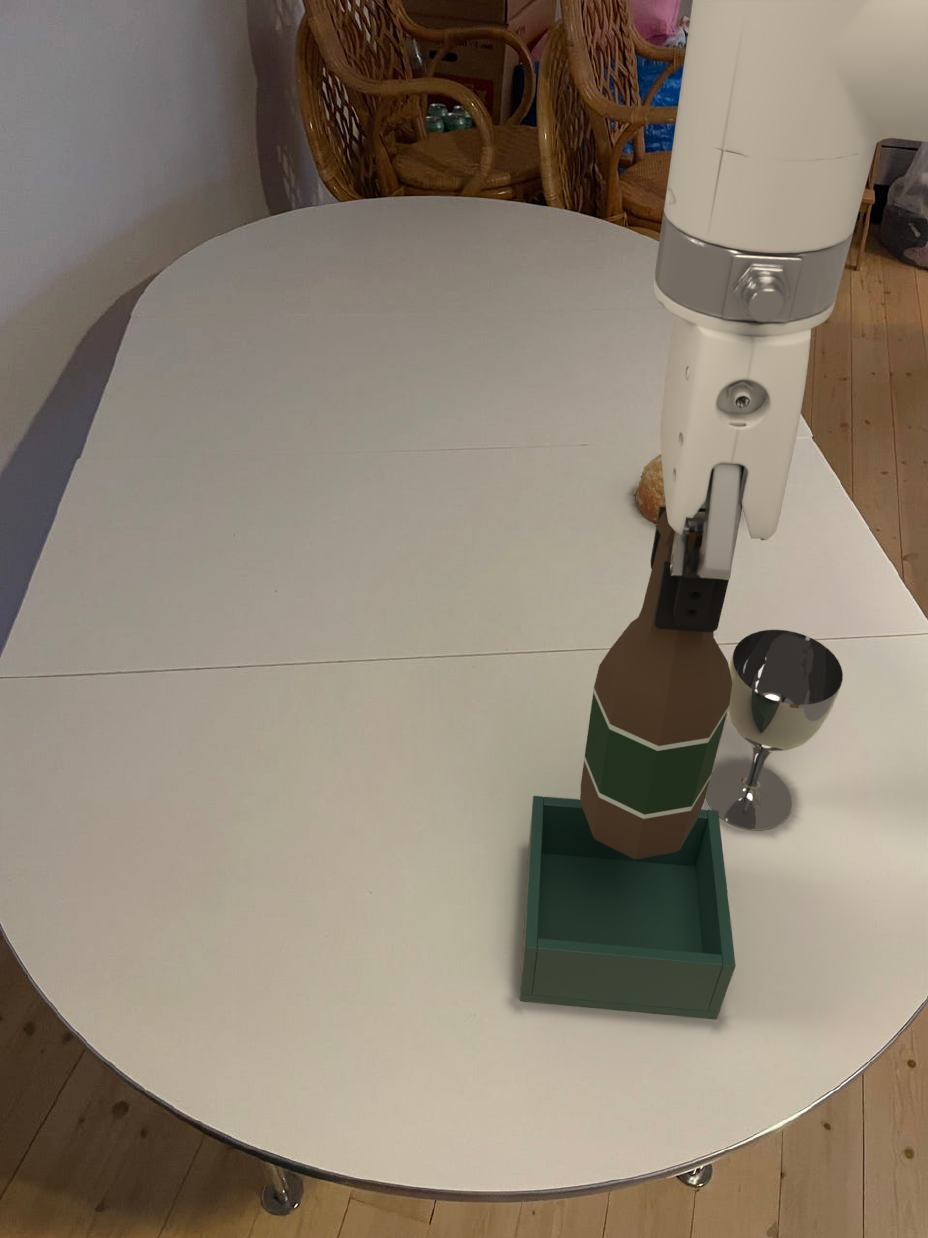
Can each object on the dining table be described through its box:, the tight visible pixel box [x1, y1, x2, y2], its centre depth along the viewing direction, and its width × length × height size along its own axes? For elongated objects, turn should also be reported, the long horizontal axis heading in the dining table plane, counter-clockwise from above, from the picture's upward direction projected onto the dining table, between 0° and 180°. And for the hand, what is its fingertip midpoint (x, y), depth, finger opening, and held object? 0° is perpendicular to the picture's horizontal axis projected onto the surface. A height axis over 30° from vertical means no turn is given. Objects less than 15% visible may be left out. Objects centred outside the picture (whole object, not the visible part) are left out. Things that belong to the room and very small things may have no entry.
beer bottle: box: [579, 508, 733, 859], centre depth 60 cm, size 8×8×24 cm
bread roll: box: [633, 453, 666, 524], centre depth 116 cm, size 10×10×8 cm
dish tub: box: [519, 795, 736, 1020], centre depth 75 cm, size 14×13×7 cm
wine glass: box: [705, 629, 844, 831], centre depth 81 cm, size 8×8×15 cm
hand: (682, 595), depth 55 cm, fingers closed on beer bottle, 3 cm apart
